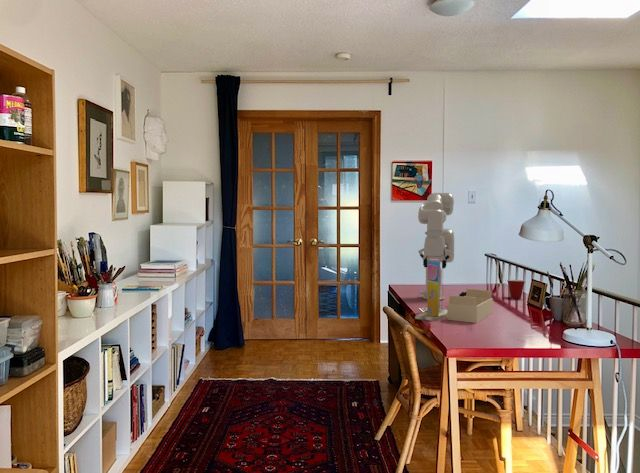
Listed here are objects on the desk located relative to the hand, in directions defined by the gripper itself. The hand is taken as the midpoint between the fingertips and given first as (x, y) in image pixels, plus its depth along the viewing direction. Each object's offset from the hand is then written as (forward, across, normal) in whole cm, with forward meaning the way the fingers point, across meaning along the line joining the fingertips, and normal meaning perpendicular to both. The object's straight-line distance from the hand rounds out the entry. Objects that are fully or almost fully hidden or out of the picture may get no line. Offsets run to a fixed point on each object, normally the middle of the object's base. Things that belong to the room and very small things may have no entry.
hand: (434, 267), depth 263 cm
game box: (+24, 0, 0) cm, 24 cm away
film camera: (+25, +4, +32) cm, 41 cm away
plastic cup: (+25, +23, +79) cm, 86 cm away
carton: (+25, +16, +9) cm, 31 cm away
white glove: (+25, 0, 0) cm, 25 cm away
